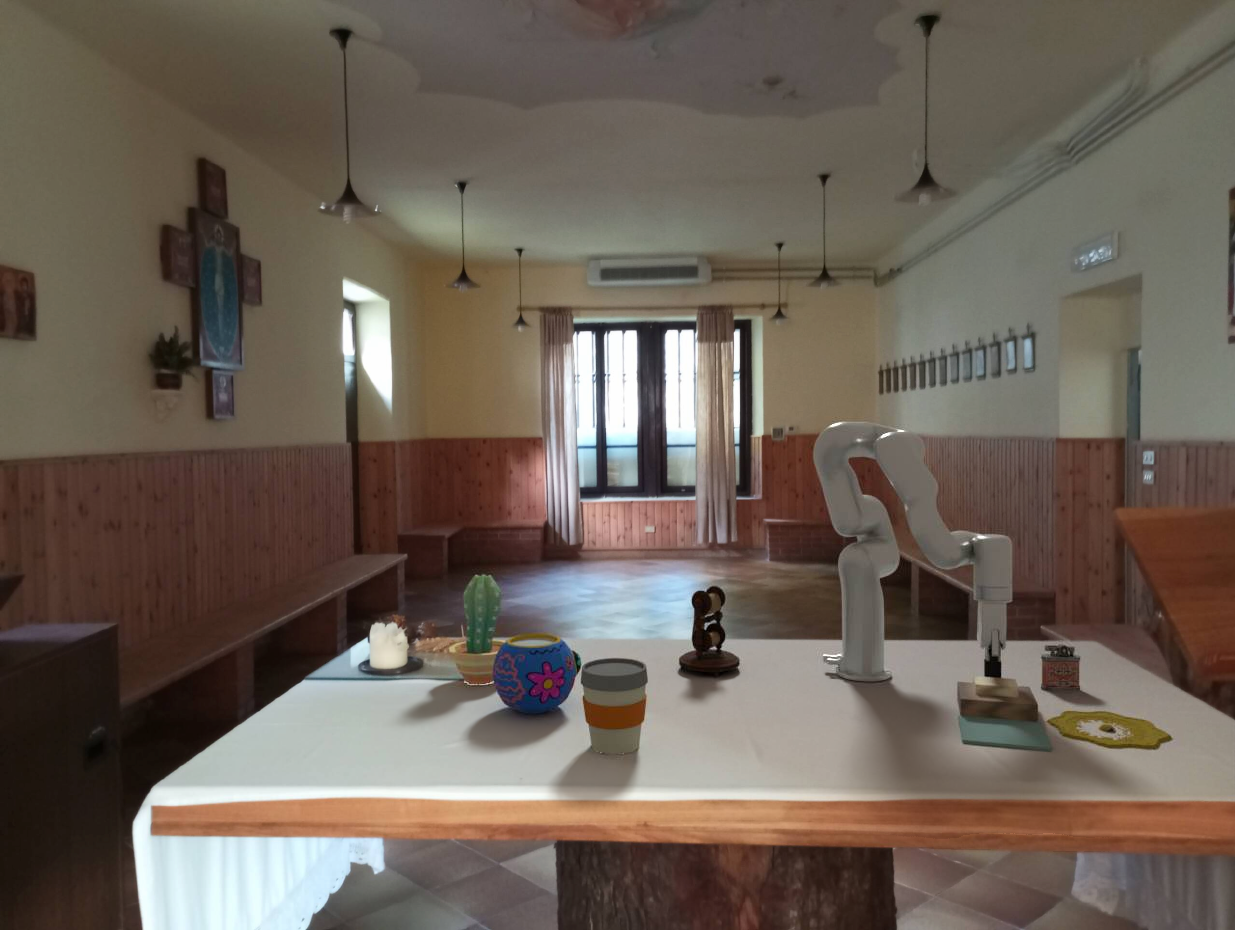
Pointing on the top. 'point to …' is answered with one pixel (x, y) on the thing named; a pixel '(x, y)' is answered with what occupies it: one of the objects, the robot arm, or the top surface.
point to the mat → (1003, 733)
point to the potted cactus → (479, 631)
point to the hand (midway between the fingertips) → (992, 678)
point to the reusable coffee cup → (614, 703)
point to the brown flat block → (997, 704)
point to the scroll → (708, 635)
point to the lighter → (1060, 669)
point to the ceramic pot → (535, 672)
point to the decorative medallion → (1141, 729)
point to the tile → (995, 686)
